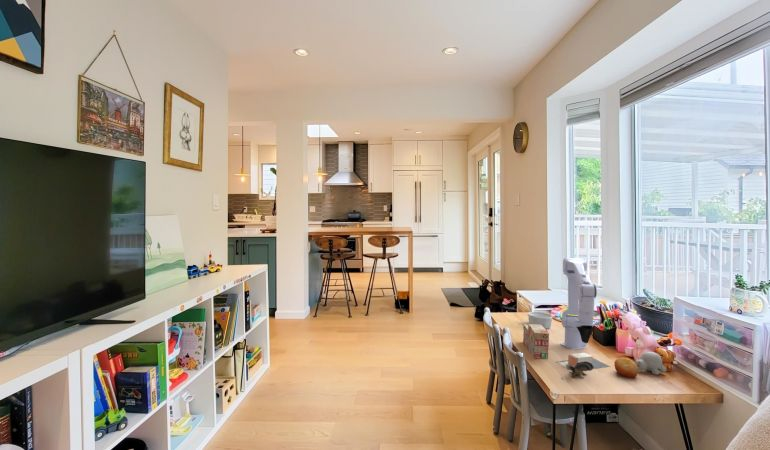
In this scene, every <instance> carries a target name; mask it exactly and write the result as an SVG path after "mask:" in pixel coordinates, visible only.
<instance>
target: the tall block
mask: <svg viewBox="0 0 770 450" xmlns="http://www.w3.org/2000/svg"><path fill="white" fill-rule="evenodd" d="M567 358H568V359H567V360H568V364H570V365H572V366H574V367H575V366H576V364H577V363H579V362H589V363H591V364H592V358H593V355H591V354H588V353H587V352H581V353H580V352H579V353H571V354H569V353H568V357H567Z"/></svg>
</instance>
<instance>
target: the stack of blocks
mask: <svg viewBox="0 0 770 450" xmlns="http://www.w3.org/2000/svg"><path fill="white" fill-rule="evenodd" d="M522 327H523V328H522V329H523V341H522V342H523V343H524V346H525V347H526V349H528V350H529V352H530V354H531V356H532V357H533V359H534V360H537V359H538V360H539V359H547V360H548V359H549V346H550V345H549V344H550V343H549V342H550V340H549V339H550V333H549V332H548V329H545V328H544V327H543V326H542V325H536V324H529V323H528V324H524V323H523V326H522Z"/></svg>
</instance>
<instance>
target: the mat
mask: <svg viewBox="0 0 770 450" xmlns="http://www.w3.org/2000/svg"><path fill="white" fill-rule="evenodd" d="M556 363H557V364H558V365H561V366H562V367H564V368H566V365H570V364H568V359H567V360H560V361H559V360H558V361H556ZM592 365H593V367H594V368H593V369H592V370H596V369H602V368H603V369H604V368H612V367H611V366H610V365H608V364H606V363H604V362H603V361H600V360H597V359H595V358H594V357H592ZM573 367H574V366H573Z"/></svg>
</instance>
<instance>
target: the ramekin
mask: <svg viewBox="0 0 770 450" xmlns="http://www.w3.org/2000/svg"><path fill="white" fill-rule="evenodd" d="M527 316H528V317H527V318H528V324H536V325H542V326H543V327H544V328H545V329H546V330H548V329H550V328H551V326H552V320H553V315H552V314H550V313H547V312H544V311H542V312H541V311H529V312H528V313H527Z"/></svg>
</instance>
